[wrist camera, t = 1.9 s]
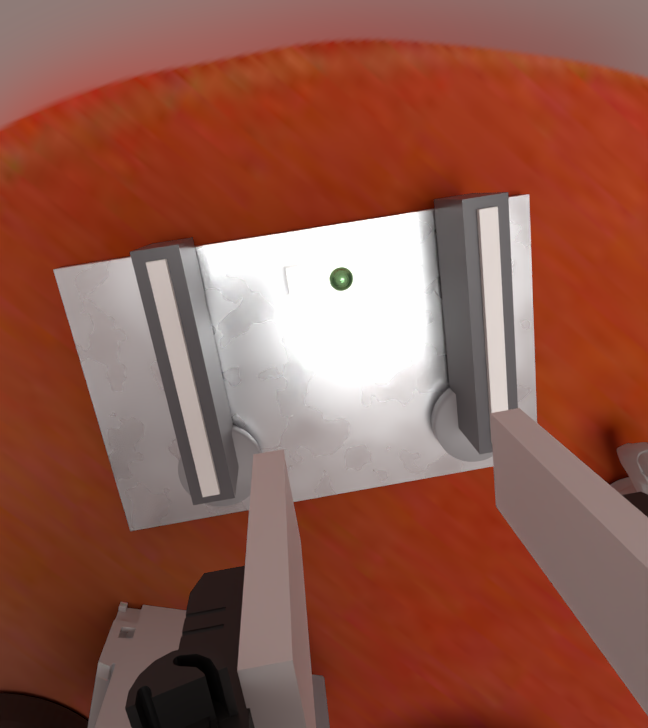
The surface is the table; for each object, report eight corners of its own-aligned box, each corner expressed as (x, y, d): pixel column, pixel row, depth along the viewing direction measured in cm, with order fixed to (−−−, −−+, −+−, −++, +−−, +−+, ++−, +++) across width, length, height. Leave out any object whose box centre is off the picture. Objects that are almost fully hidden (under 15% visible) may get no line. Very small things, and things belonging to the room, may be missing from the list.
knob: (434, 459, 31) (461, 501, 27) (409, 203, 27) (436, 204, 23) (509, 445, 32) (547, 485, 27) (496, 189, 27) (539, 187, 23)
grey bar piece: (190, 502, 31) (177, 552, 26) (126, 247, 27) (98, 257, 22) (268, 488, 31) (268, 536, 27) (217, 233, 27) (206, 240, 22)
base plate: (134, 521, 32) (121, 551, 30) (60, 266, 28) (37, 274, 25) (530, 450, 33) (553, 473, 31) (520, 194, 29) (547, 194, 26)
